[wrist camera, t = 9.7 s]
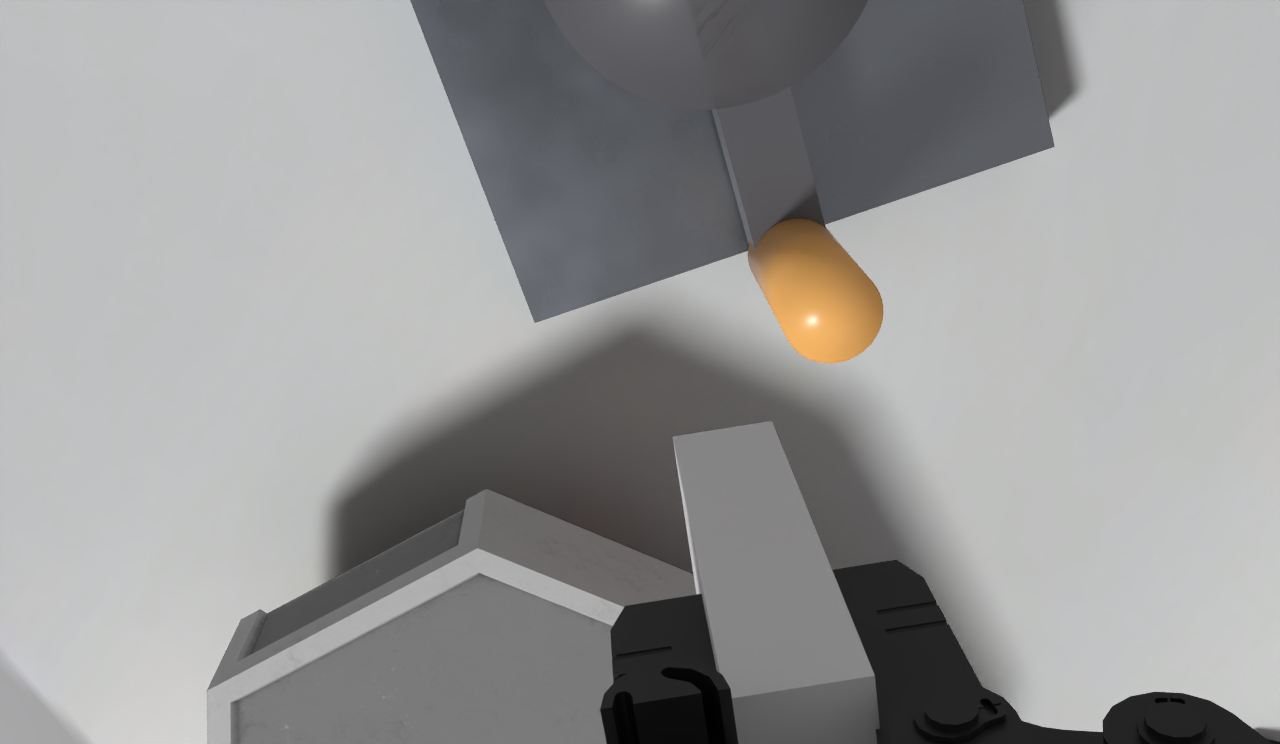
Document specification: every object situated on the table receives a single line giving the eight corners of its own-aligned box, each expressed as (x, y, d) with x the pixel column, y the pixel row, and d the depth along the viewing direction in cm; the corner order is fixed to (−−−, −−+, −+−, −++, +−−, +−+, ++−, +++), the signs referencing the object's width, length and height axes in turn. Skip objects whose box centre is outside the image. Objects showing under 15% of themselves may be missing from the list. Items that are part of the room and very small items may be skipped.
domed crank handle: (483, -200, 31) (459, -235, 25) (824, -312, 31) (894, -377, 24) (647, 326, 36) (664, 414, 30) (943, 237, 36) (1027, 306, 29)
